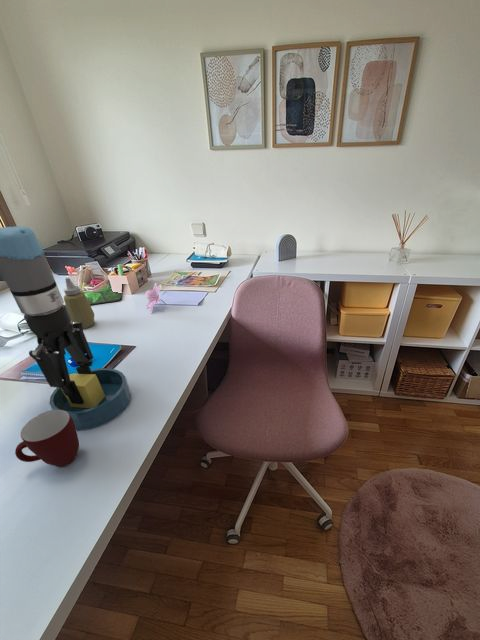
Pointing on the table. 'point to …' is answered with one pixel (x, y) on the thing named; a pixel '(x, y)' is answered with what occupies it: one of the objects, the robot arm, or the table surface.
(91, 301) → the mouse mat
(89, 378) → the sponge
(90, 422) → the bowl
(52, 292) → the robot arm
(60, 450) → the mug
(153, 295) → the lily
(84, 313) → the squeeze bottle
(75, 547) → the table surface
